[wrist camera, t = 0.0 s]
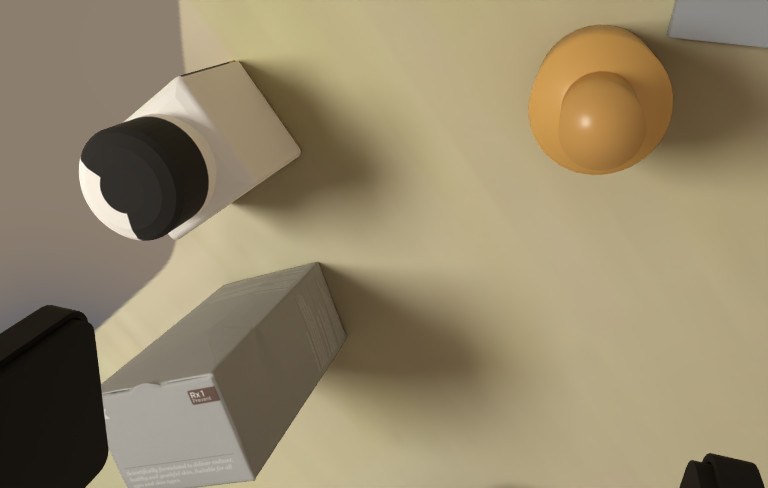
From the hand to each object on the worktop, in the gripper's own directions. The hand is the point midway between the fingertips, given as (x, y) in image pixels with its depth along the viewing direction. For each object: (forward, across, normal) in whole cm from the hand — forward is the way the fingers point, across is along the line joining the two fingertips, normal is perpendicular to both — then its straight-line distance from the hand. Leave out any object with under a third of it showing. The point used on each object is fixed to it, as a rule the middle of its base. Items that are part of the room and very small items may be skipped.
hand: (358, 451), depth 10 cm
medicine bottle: (+31, +18, +5) cm, 37 cm away
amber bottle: (+31, -4, -1) cm, 31 cm away
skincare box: (+31, +14, +17) cm, 38 cm away
